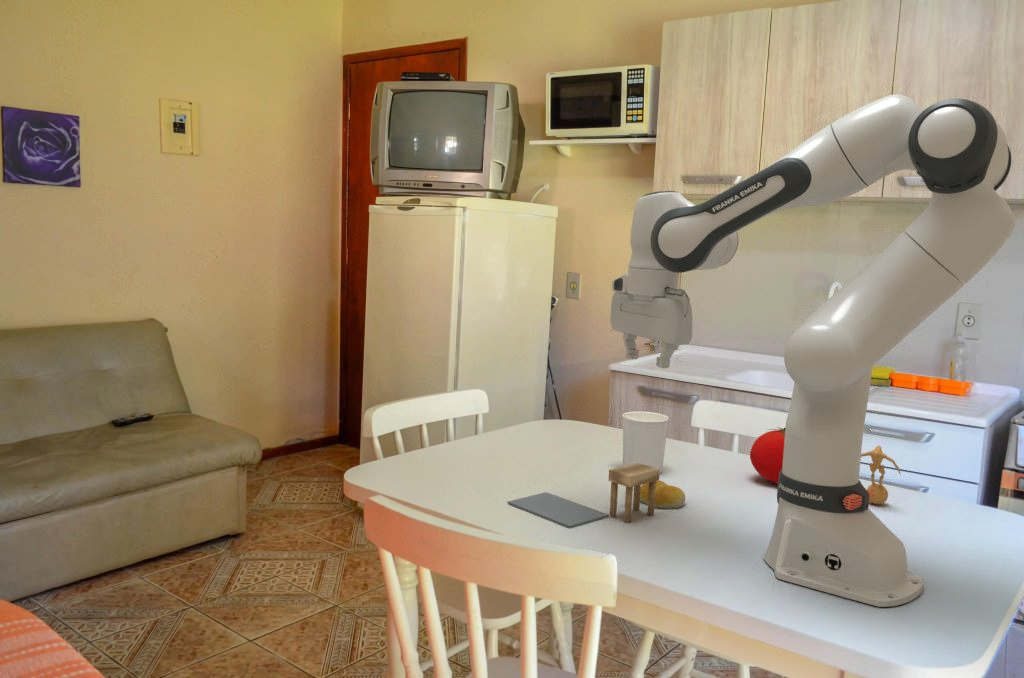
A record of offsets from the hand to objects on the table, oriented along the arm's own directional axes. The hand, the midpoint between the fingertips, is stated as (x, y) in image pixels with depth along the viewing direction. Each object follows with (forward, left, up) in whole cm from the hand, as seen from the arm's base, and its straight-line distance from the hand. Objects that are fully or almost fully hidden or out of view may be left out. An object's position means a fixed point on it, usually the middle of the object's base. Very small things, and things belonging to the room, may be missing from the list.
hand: (646, 363), depth 145 cm
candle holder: (+18, -23, -28) cm, 41 cm away
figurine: (-24, -42, -28) cm, 56 cm away
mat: (+10, +11, -28) cm, 31 cm away
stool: (0, +2, -28) cm, 28 cm away
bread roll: (+2, -9, -28) cm, 30 cm away
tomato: (-5, -41, -28) cm, 50 cm away
